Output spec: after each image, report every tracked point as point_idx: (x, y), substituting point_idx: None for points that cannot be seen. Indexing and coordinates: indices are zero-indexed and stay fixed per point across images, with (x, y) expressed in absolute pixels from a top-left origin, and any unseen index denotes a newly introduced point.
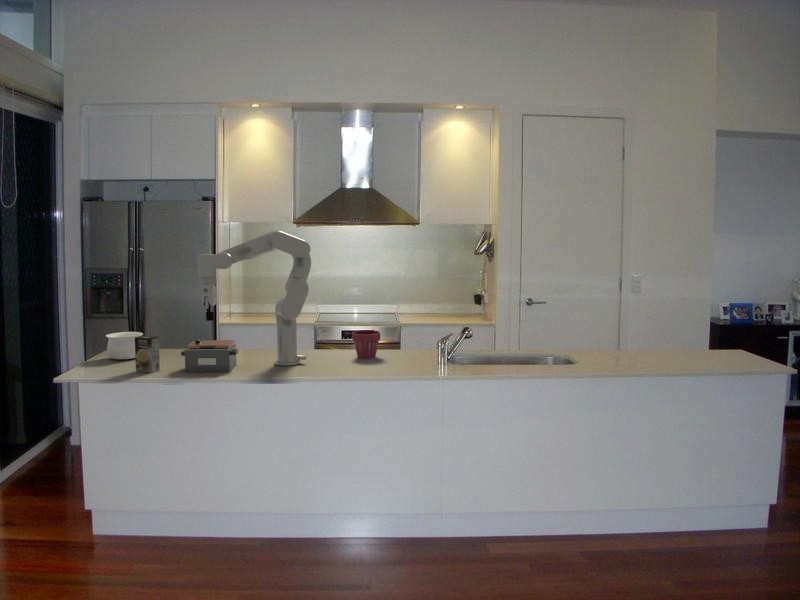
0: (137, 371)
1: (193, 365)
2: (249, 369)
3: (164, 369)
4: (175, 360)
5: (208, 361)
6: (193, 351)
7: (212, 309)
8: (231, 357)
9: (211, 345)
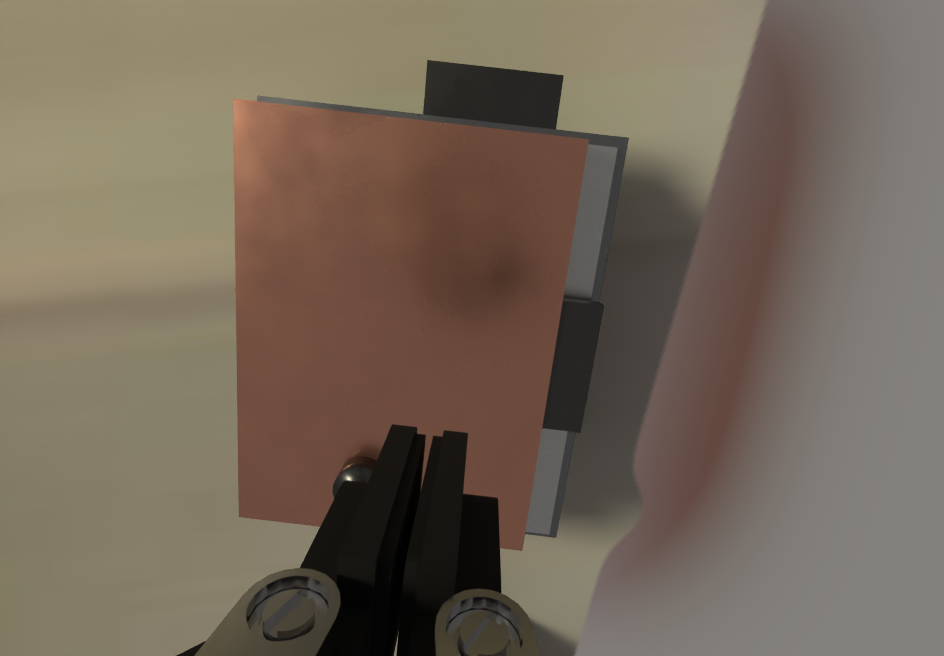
0: None
1: None
2: (521, 4)
3: None
4: (149, 542)
5: None
6: (566, 467)
7: (322, 651)
8: None
9: (558, 331)
